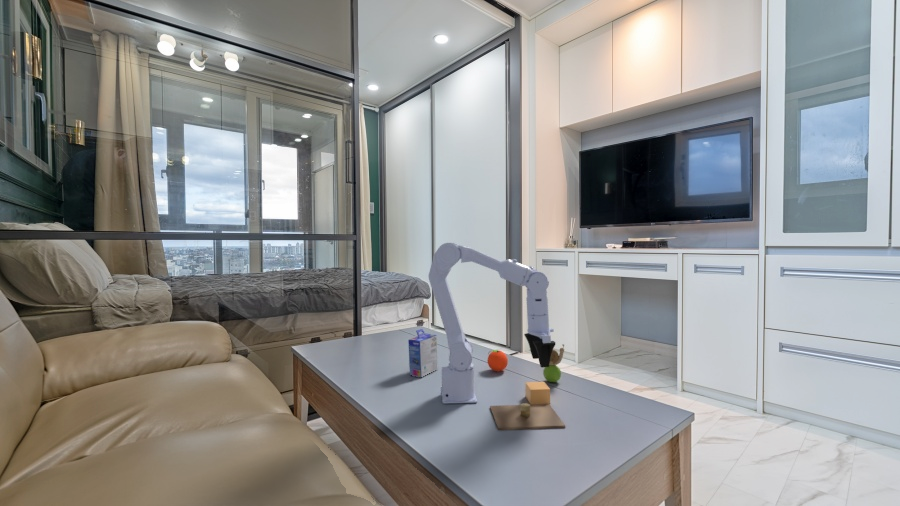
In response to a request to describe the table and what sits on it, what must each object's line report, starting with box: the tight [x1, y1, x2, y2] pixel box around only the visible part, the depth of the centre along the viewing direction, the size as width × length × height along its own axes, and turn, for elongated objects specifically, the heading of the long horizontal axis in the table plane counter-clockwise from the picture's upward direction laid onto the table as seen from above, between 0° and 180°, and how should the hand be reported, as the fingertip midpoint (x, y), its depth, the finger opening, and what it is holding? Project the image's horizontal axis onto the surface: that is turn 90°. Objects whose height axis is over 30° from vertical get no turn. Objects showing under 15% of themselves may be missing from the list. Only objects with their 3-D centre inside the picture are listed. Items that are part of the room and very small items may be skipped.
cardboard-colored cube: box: [524, 381, 551, 405], centre depth 105 cm, size 5×5×4 cm
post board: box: [489, 402, 566, 431], centre depth 95 cm, size 16×12×3 cm
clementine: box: [487, 349, 509, 372], centre depth 130 cm, size 8×7×7 cm
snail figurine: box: [542, 343, 565, 383], centre depth 118 cm, size 5×6×12 cm
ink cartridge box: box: [407, 328, 439, 378], centre depth 128 cm, size 10×6×14 cm, turn 148°
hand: (540, 362), depth 105 cm, fingers open, 7 cm apart
